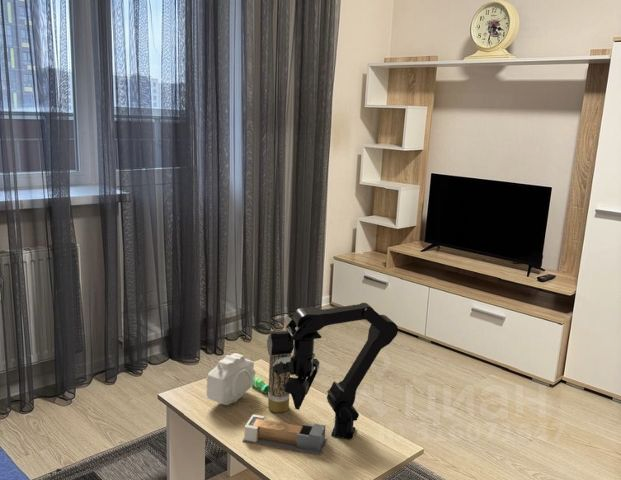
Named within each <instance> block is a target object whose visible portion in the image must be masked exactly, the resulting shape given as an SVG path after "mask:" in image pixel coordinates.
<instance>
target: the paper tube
mask: <svg viewBox="0 0 621 480" xmlns="http://www.w3.org/2000/svg"><path fill="white" fill-rule="evenodd" d="M291 356H292V353H290V354H286V355H274V356H269V364H268V365H269V366H268V367H269V369H268V384H269V393H268V396H267V397H268V398H267V399H268V400H267V401H268V405H267V408H268V409H269V410H270V411H271V412H273V413H279V414H280V413H284V412H286V411H287V410H289V408H290V395H291V394H290V393H287V392H285V391H284V384H285V382H286V381H287V379H289V378H290V377H291V375H290V372H287V373H282V374H280V375H276V373H275V372H273V364H274V363H275V361H276V360H277V359H280V358H285V357H291Z"/></svg>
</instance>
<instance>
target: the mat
mask: <svg viewBox="0 0 621 480" xmlns="http://www.w3.org/2000/svg"><path fill="white" fill-rule="evenodd" d="M242 443H249V444H254V445H259V446H264V447H270V448H271V447H272V448H276V449H282V450H287V451H293V452H298V453H305V454H310V455H314V456H315V455H316V456H320V457H321V456H322V453H323V450H324V448H325V446H326V443H327V438H325V441H324V444H323V446H322V449H321V452H316V451H310V450H305V449H299V448H297V445H294V444H289V443H283V442H277V441H272V440H266V439H260V438H258V440H257V442H253V441H247V440H244V438H243V439H242Z"/></svg>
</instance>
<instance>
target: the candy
mask: <svg viewBox="0 0 621 480" xmlns="http://www.w3.org/2000/svg"><path fill="white" fill-rule="evenodd" d="M252 387H253V388H255V389H257V390H258V391H261V392H262V393H263V394H264V395H265V394H267V393H268V394H269V383H265V381H264V380H263V379H261V378H260V377H258V376H254V384H253V386H252Z"/></svg>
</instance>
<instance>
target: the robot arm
mask: <svg viewBox="0 0 621 480" xmlns="http://www.w3.org/2000/svg"><path fill="white" fill-rule="evenodd" d="M363 320H365V321H367V322H369V324H370V325H369V329H368V333H367V340H366V341H365V343H364V345H363V346H362V348H361V350H360V352H359V353H358V355H357V356H356V358H355V360H354V362H353V363H352V365H351V366H350V368H349V369H348V371H347V373H346V375H345V376H344V378H343V379H342V380H341V381H339V382H336V381H333V383H332V384H331V386H330V388H329V389H328V390H327V391H326V392H327V396H326V400H327V403H328V405H329V406H330V407H331V408H332V410H333V412H334V425H333V429H332V432H331V436H332V437H334V438H341V439H346V440H353V438H354V436H355V432H356V427H355V426H354V422H355V421H357V420H358V418H359V416H360V413H359V412H358V410H357V409H356V408H355V407H354V404H355V401H356V395H357V394H356V393H357V390H358V387H359V386H360V385H361V383H362V381H363V380H364V378H365V376H366V374H367V373H368V371H369V370H370V368H371V366H372V365H373V363H374V362H375V360H376V358H377V357H378V355H379V353H380V352H381V350H382V349H384V348H385V347H386V346H388V345H390V344H391V343H392V342H393V340H394V339H396V337H397V336H398V334H399V328H398V326H397V324H396V323H395V322H394V321H393V320H392V319H391V318H390V317H388V316H387V315H385V314H380V313H378V312H377V311H376V310H375V309H374V308H373V307H372V306H371V305H370V304H369V303H367V302H361V303H359V304H352V305H351V304H350V305H346V306H338V307H332V308H331V307H330V308H325V309H324V308H315V307H300V308H297V309H296V311H295V312H294V314H293V317H292V318H291V320H290V321H289V322H288V324H287V325H286V326H285V330H279V331H276V330H271V331H269V335H268V337H267V340H266V346H267V347H266V349H267V353H268V356H269V357H270V356H274V355H286V354H290V353H291V354H292V353H293V354H292V355H291V357H285V358H280V359H277V360H276V361H275V363H274V364H273V372H275V373H276V375H280V374H282V373H287V372H290V378H289V379H287V381H286V382H285V384H284V391H285V392H287V393H290V394H289V395H291V398H292V401H293V406H294V409H295V410H296V411H297V410H298V411H299V410H300V408H301V406H302V404H303V401H304V400H305V398H306V396H307V395H308V393H309V391H310V389H311V387H312V385H313V382H314V380H315V378H316V376H317V374H318V372H319V369H320V360H318V358H315V357H316V353H314V350H315V348H314V346H315V340H318V339H322V335H321V334H320V333H319V332H318V331H320V330H322V329H324V328H325V327H328V326H331V325H337V324H343V323H344V324H345V323H350V322H357V321H363ZM296 328H297V329H296ZM292 376H295V377H292Z"/></svg>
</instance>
